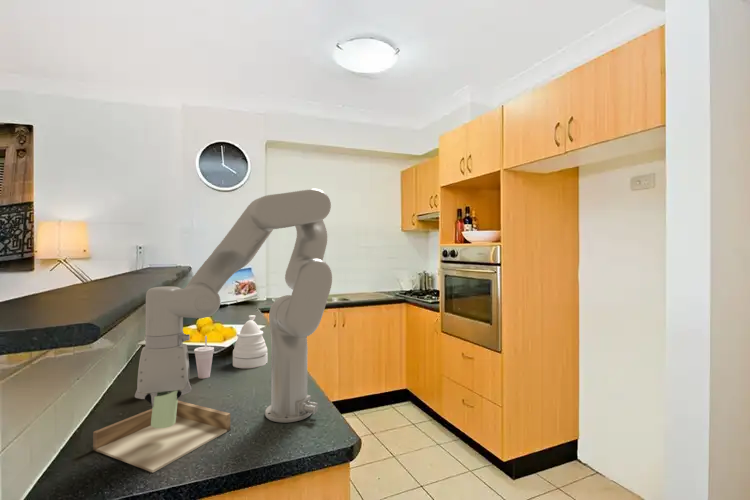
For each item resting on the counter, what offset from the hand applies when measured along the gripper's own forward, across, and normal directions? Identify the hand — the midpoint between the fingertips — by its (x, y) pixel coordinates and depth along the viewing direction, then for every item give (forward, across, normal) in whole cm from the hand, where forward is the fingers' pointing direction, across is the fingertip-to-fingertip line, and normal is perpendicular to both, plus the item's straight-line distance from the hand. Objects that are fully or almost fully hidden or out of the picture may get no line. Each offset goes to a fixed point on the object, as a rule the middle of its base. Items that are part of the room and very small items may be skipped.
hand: (163, 420), depth 88 cm
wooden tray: (+5, 0, -2) cm, 5 cm away
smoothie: (+5, -5, -46) cm, 47 cm away
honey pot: (+5, -21, -57) cm, 61 cm away
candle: (+1, 0, 0) cm, 1 cm away
